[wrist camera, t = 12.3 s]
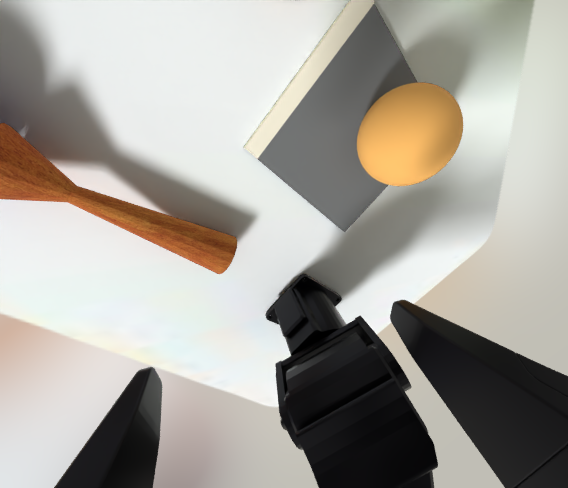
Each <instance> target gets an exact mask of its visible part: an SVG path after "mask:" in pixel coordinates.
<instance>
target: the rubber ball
mask: <svg viewBox="0 0 568 488" xmlns="http://www.w3.org/2000/svg"><path fill="white" fill-rule="evenodd" d="M462 132H463V117H462V113H461V109H460V107H459V105H458V103H457V101H456V100H455V98H454V97H453V96H452V95H451V94H450V93H449V92H448V91H446V90H445V89H443V88H441V87H439V86H437V85H434V84H430V83H410V84H406V85H402V86H399V87H397V88H395V89H392V90H391V91H389V92H387V93H386V94H384V95H383V96H382V97H380V98H379V99H378V100H377V101H376V102H375V103H374V104H373V105H372V106H371V108H370V109H369V110H368V112H367V113H366V115H365V116H364V118H363V120H362V122H361V125H360V128H359V131H358V136H357V152H358V157H359V159H360V162H361V164H362V166H363V168H364V169H365V170H366V172H367V173H368V174H369V175H370V176H371V177H373V178H374V179H376V180H377V181H379V182H382V183H384V184H388V185H393V186H407V185H413V184H416V183H419V182H422V181H424V180H426V179H428V178H430V177H432V176H433V175H435V174H436V173H438V172H439V171H440V170H441V169H442V168H443V167H444V166H445V165H446V164H447V163H448V162H449V161H450V160H451V158H452V157H453V155H454V154H455V152H456V150H457V148H458V146H459V143H460V140H461V137H462Z"/></svg>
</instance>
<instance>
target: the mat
mask: <svg viewBox="0 0 568 488" xmlns="http://www.w3.org/2000/svg"><path fill="white" fill-rule="evenodd" d="M374 3H375V2H374V0H350V1H349V2H348V3H347V5H346V6H345V7H344V9H343V10H342V12H341V13H340V14H339V16H338V17H337V18H336V20H335V21H334V23H333V24H332V25H331V27H330V28H329V30H328V31H327V32H326V34H325V35H324V36H323V38H322V39H321V41H320V42H319V43H318V45H317V46H316V47H315V49H314V50H313V52H312V53H311V54H310V56H309V57H308V59H307V60H306V61H305V63H304V64H303V65H302V67H301V68H300V70H299V71H298V72H297V74H296V75H295V76H294V78H293V79H292V81H291V82H290V83H289V85H288V86H287V88H286V89H285V90H284V92H283V93H282V94H281V96H280V97H279V99H278V100H277V101H276V103H275V104H274V105H273V107H272V108H271V110H270V111H269V112H268V114H267V115H266V117H265V118H264V119H263V121H262V122H261V123H260V125H259V126H258V128H257V129H256V130H255V132H254V133H253V134H252V136H251V137H250V139H249V140H248V141H247V143H246V144H245V146H244V148H245V149H246V150H247V151H248V152H250V153H251V154H252V155H253V156H254V157H256V158H257V159H258V160H259V161H260V162H262V163H263V164H264V165H265V166H266V167H267V168H269V169H270V170H271V171H272V172H273V173H275V174H276V175H277V176H278V177H279V178H281V179H282V180H283V181H284V182H285V183H286V184H288V185H289V186H290V187H291V188H292V189H294V190H295V191H296V192H297V193H298V194H300V195H301V196H302V197H303V198H304V199H306V200H307V201H308V202H309V203H310V204H311V205H313V206H314V207H315V208H316V209H317V210H319V211H320V212H321V213H322V214H323V215H325V216H326V217H327V218H328V219H329V220H331V221H332V222H333V223H334V224H335V225H336V226H338V227H339V228H340V229H341V230H342V231H344V232H345V231H346V230H347V229H348V228H349V227H350V226H351V225H352V224H353V223H354V222H355V221H356V219H357V218H358V217H359V216H360V215H361V214H362V213H363V212H364V211H365V210H366V209H367V208H368V206H369V205H370V204H371V203H372V202H373V201H374V200H375V199H376V198H377V197H378V196H379V195H380V193H381V192H382V191H383V190H384V189H385V188H386V187H387V186H388V184H384V183H382V182H379V181H377V180H376V179H374V178H373V177H371V176H370V175H369V174H368V173H367V172H366V170H365V169H364V168H363V166H362V164H361V162H360V159H359V157H358V152H357V136H358V131H359V128H360V125H361V122H362V120H363V118H364V116H365V115H366V113H367V112H368V110H369V109H370V108H371V106H372V105H373V104H374V103H375V102H376V101H377V100H378V99H379V98H380V97H382V96H383V95H384V94H386V93H387V92H389V91H391V90H392V89H395V88H397V87H399V86H402V85H406V84H410V83H417V81H416V79H415V77H414V75H413V73H412V72H411V70H410V68H409V66H408V64H407V62H406V61H405V59H404V57H403V55H402V53H401V51H400V50H399V48H398V46H397V44H396V42H395V41H394V39H393V37H392V35H391V33H390V31H389V30H388V28H387V26H386V24H385V22H384V20H383V19H382V17H381V15H380V13H379V11H378V10H377V8H376V6H375V4H374Z"/></svg>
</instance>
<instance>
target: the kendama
mask: <svg viewBox="0 0 568 488" xmlns="http://www.w3.org/2000/svg"><path fill="white" fill-rule="evenodd" d="M0 199H11V200H32V201H54V202H68V203H71V204H73V205H75V206H77V207H79V208H81V209H83V210H85V211H87V212H89V213H91V214H94V215H96V216H98V217H100V218H102V219H104V220H106V221H108V222H110V223H112V224H115V225H117V226H119V227H121V228H123V229H125V230H127V231H129V232H131V233H133V234H136V235H138V236H140V237H142V238H144V239H146V240H148V241H150V242H152V243H154V244H157V245H159V246H161V247H163V248H165V249H167V250H169V251H171V252H173V253H175V254H178V255H180V256H182V257H184V258H186V259H188V260H190V261H192V262H194V263H196V264H199V265H201V266H203V267H205V268H207V269H209V270H211V271H213V272H215V273H217V274H221V273H223V272H224V271H225V270H227V268H228V267H229V265H230V264H231V262H232V260H233V257H234V255H235V252H236V248H237V240H236V237H234V236H231V235H228V234H225V233H222V232H218V231H215V230H212V229H209V228H206V227H203V226H200V225H197V224H194V223H190V222H187V221H184V220H181V219H178V218H175V217H172V216H169V215H166V214H162V213H159V212H156V211H153V210H150V209H147V208H144V207H141V206H138V205H134V204H131V203H128V202H125V201H122V200H119V199H116V198H113V197H110V196H106V195H103V194H100V193H97V192H94V191H91V190H88V189H85V188H82V187H78V186H76V185H75V184H74V183H73V182H72V181H71V180H70V179H69V178H67V177H66V176H65V175H64V174H63V173H62V172H61V171H60V170H59V169H57V168H56V167H55V166H54V165H53V164H52V163H51V162H50V161H49V160H47V159H46V158H45V157H44V156H43V155H42V154H41V153H40V152H39V151H37V150H36V149H35V148H34V147H33V146H32V145H31V144H30V143H29V142H27V141H26V140H25V139H24V138H23V137H22V136H21V135H20V134H19V133H17V132H16V131H15V130H14V129H13V128H12V127H10V126H9V125H7V124H5V123H1V124H0Z"/></svg>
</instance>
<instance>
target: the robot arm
mask: <svg viewBox="0 0 568 488" xmlns="http://www.w3.org/2000/svg"><path fill="white" fill-rule="evenodd" d="M304 278H305V279H304ZM303 279H304V280H303ZM341 300H342V298H341V296H340V295H339V294H337V293H336V292H334V291H332V290H331V289H329V288H327V287H326V286H324V285H323V284H321V283H319V282H318V281H316V280H314V279H313V278H311V277H309V276H308V275H306V274H303V275H301V276H300V277H299V278H298V279H297V280H296V281H295V282H294V283H293V284H292V285H291V286H290V287H289V289H288V290H287V291H286V292H285V293H284V294H283V295H282V296H281V297H280V298H279V299H278V301H277V302H276V303H275V304H274V305H273V306H272V307H271V308H270V309H269V310H268V311H267V313H266V318H267V320H269V321H272V322H274V323H276V324H279V325H280V328H281V331H282V334H283V336H284V337H285V339H286V342H287V345H288V348H289V351H290V354H291V356H290V357H289V358H287V359H285V360H283V361H279V362H278V363H276V381H277V392H278V403H279V413H280V416H281V425H282V427H283V429H285V430H287V431H288V433H289V435H290V437H291V439H292V441H293V442H294V444H295V445H296V447H298V448H299V449H301V450H302V449H303V450H304V452H305V455H306V457H307V459H308V461H309V463H310V465H311V468H312V471H313V473H314V476H315V479H316V481H317V484H318V487H319V488H434V482H433V473H432V470H433V469H435V468H437V467H438V462H437V457H436V453H435V448H434V444H433V441H432V439H431V438H430V436H429V435H428V431H427V428H426V426H425V424H424V422H423V421H422V419H421V418H420V416H419V414H418V413H417V411H416V409H415V408H414V406H413V404H412V403H411V401H410V400H409V398H408V396H407V395H406V393H405V391H407V390H408V389H410V388H411V384H410V382H409V380H408V378H407V377H406V375H405V373H404V371H403V370H402V369H401V367H400V365H399V364H398V362H397V361H396V359H395V357H394V356H393V355H392V353H391V352H390V351H389V349H388V348H387V346H386V345H385V344H384V343H383V342H382V340H381V339H380V338H379V337H378V336H377V335H376V333H375V332H374V331H373V330H372V329H371V327H370V326H369V325H368V324H367V323H366V322H365V320H364V319H363V318H362V317H361V316H359V317H357V318H355V320H354V321H352V322H350V323H348V324H347V325H346V323H345V322H344V320H343V318H342V317H341V315H340V314H339V312H338V311H337V309H336V307H335V306H336V305H337V304H338V303H339V302H340V301H341ZM270 315H271V316H270ZM390 319H391V322H392V324H393V325H394V327H395V329H396V330H397V332H398V334H399V335H400V337H401V339H402V341H403V343H404V344H405V346H406V348H407V349H408V351H409V353H410V354H411V356H412V357H413V359H414V360H415V362H416V363H417V365H418V366H419V368H420V369H421V370H422V372H423V373H424V375H425V376H426V377H427V379H428V380H429V381H430V383H431V384H432V386H433V387H434V389H435V390H436V391H437V393H438V394H439V396H440V397H441V398H442V400H443V401H444V403H445V404H446V405H447V407H448V408H449V410H450V411H451V412H452V414H453V415H454V417H455V418H456V419H457V421H458V422H459V424H460V425H461V426H462V428H463V429H464V431H465V432H466V433H467V435H468V436H469V437H470V439H471V440H472V442H473V443H474V445H475V446H476V447H477V449H478V450H479V452H480V453H481V454H482V456H483V457H484V458H485V460H486V461H487V463H488V464H489V465H490V467H491V468H492V470H493V471H494V473H495V474H496V476H497V477H498V478H499V480H500V481H501V483H502V484H503V485H504V487H505V488H568V376H566V375H564V374H562V373H559V372H556V371H555V370H552V369H550V368H548V367H546V366H544V365H541V364H539V363H537V362H535V361H533V360H530V359H528V358H526V357H524V356H522V355H520V354H518V353H515V352H513V351H511V350H509V349H507V348H505V347H503V346H501V345H499V344H497V343H495V342H492V341H490V340H488V339H486V338H484V337H482V336H480V335H478V334H476V333H473V332H471V331H469V330H467V329H465V328H463V327H461V326H459V325H457V324H454V323H452V322H450V321H448V320H446V319H444V318H442V317H440V316H437V315H435V314H433V313H431V312H429V311H427V310H425V309H423V308H421V307H418V306H416V305H414V304H412V303H410V302H408V301H406V300H399V301H396V302H394V303H393V306H392V310H391V315H390ZM161 401H162V382H161V380H160V378H159V376H158V374H157V373H156V371H155V369H154V368H153V367H148V368H145V369H141V370H139V371H138V372H137V373H136V374H135V376H134V377H133V379H132V380H131V381H130V383H129V384H128V385H127V387H126V388H125V390H124V391H123V392H122V394H121V395H120V397H119V398H118V399H117V401H116V402H115V404H114V405H113V406H112V408H111V409H110V411H109V412H108V413H107V415H106V416H105V417H104V419H103V420H102V422H101V423H100V425H99V426H98V427H97V429H96V430H95V432H94V433H93V434H92V436H91V437H90V438H89V440H88V441H87V443H86V444H85V446H84V447H83V448H82V450H81V451H80V452H79V454H78V455H77V457H76V458H75V459H74V461H73V462H72V463H71V465H70V466H69V468H68V469H67V470H66V472H65V473H64V475H63V476H62V477H61V479H60V480H59V482H58V483H57V485H56V486H55V487H54V488H153V481H154V475H155V468H156V461H157V455H158V448H159V440H160V422H161Z"/></svg>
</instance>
